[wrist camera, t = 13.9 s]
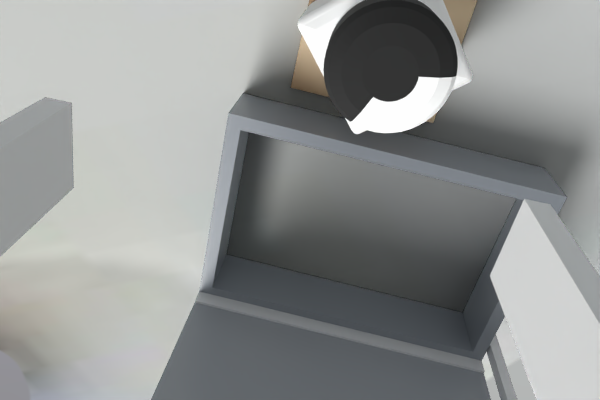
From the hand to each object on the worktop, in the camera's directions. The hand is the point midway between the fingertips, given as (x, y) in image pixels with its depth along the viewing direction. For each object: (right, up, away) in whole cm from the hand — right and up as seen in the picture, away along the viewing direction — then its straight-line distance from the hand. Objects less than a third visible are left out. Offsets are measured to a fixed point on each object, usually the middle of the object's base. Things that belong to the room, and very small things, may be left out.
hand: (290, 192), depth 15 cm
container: (+6, +12, +22) cm, 25 cm away
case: (+6, -2, +29) cm, 30 cm away
